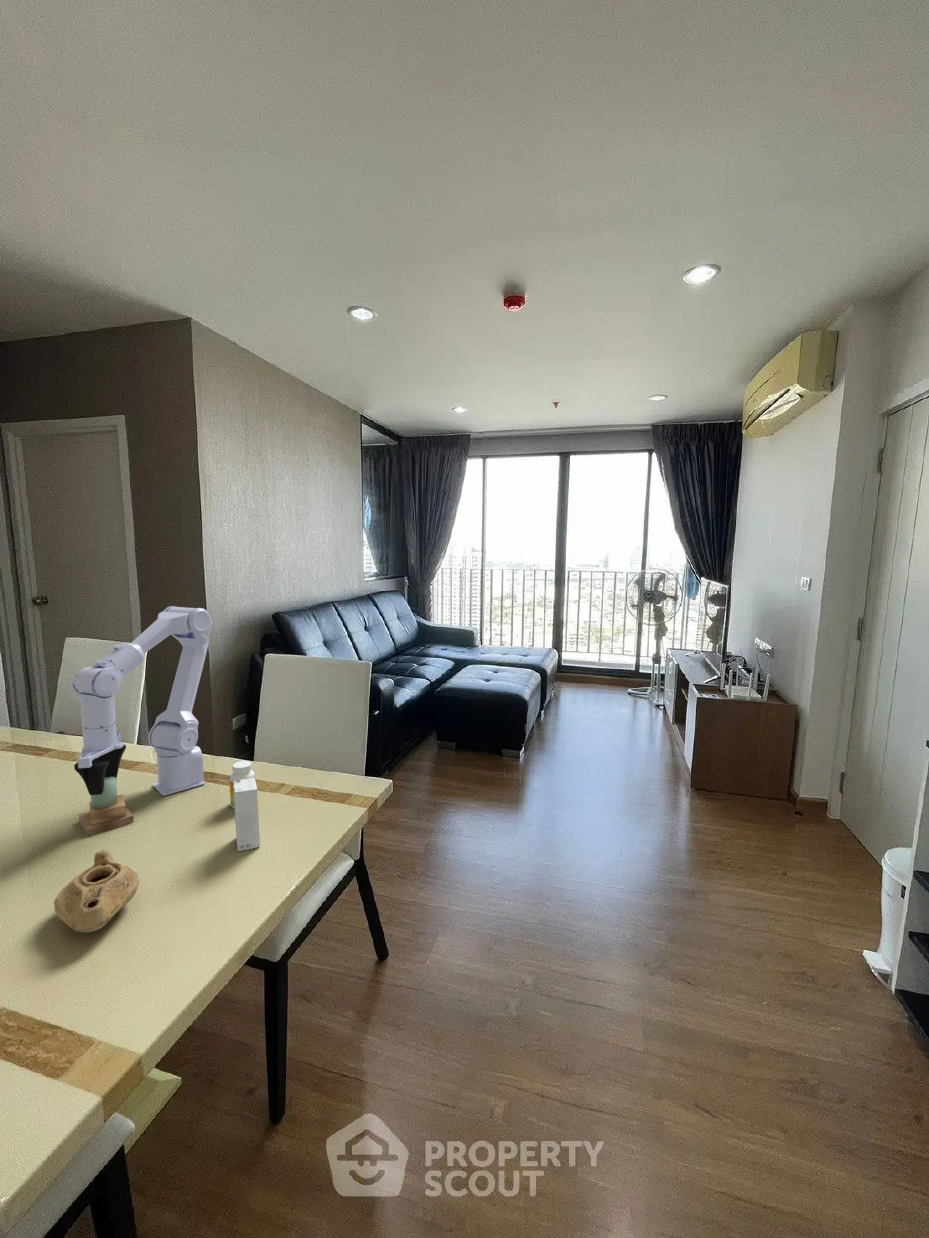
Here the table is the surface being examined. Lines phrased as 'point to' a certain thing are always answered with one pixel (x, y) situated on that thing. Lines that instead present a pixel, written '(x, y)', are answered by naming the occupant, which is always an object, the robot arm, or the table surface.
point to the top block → (108, 811)
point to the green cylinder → (106, 795)
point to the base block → (103, 823)
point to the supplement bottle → (240, 775)
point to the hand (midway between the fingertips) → (103, 787)
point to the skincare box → (246, 814)
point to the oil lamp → (96, 894)
